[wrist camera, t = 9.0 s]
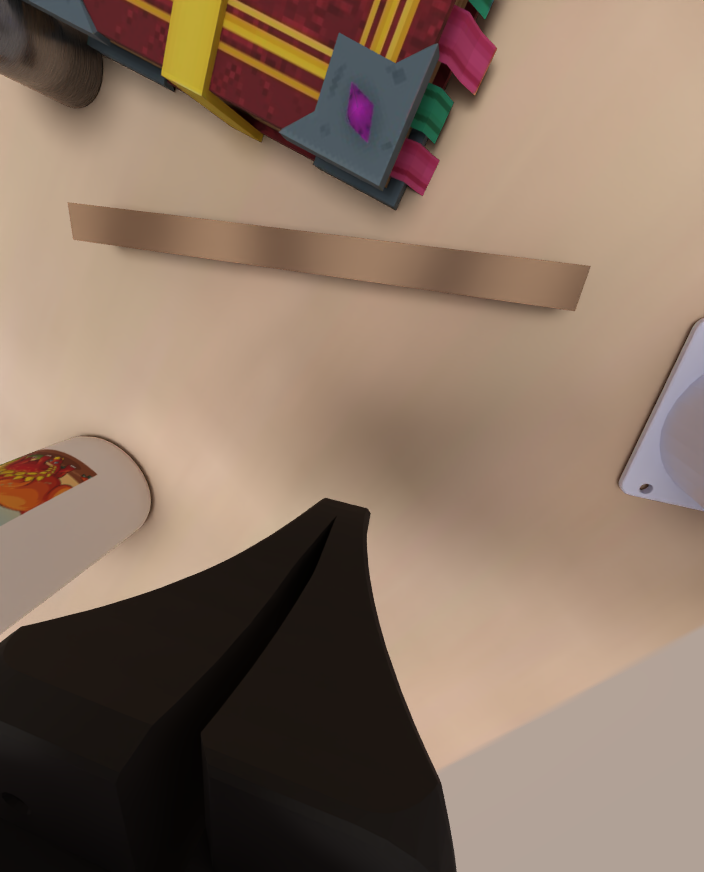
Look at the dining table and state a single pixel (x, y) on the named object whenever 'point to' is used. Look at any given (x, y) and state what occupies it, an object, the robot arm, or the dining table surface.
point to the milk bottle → (63, 517)
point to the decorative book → (307, 72)
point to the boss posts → (47, 55)
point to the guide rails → (337, 256)
